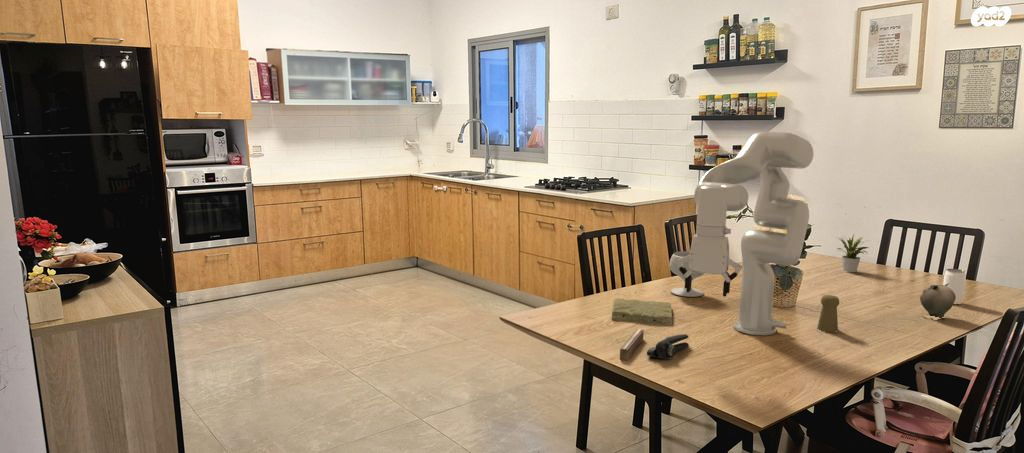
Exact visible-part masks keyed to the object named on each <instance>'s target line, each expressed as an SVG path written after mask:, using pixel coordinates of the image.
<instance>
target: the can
mask: <svg viewBox="0 0 1024 453" xmlns="http://www.w3.org/2000/svg"><path fill="white" fill-rule="evenodd" d="M966 277H967V276H966V273H965V270H963V269H958V268H957V269H956V268H946V271H945V272H944V277H943V284H942V285H946V284H948V283H949V284H948V285H947V287H949V288H950V289H951V290H952V291H953V292H954V293H955V295H956V298H955V303H960V302H962V303H963V300H964V295H965V294H964V292H965V285H966V279H967V278H966Z"/></svg>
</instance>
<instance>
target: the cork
mask: <svg viewBox="0 0 1024 453" xmlns="http://www.w3.org/2000/svg"><path fill="white" fill-rule="evenodd" d="M820 303H821V311H820V316H819V319H818V323H817V327H816V329H817V330H818V329H819V330H818V331H820V330H821V332H823V331H825V332H824V333H829V332H835V333H837V332H836V331H838V332H839V325H838V324H839V322H838V306H840V299H839V297H838V296H835V295H832V294H827V295H826V294H825V295H823V296H822V297H821V298H820Z"/></svg>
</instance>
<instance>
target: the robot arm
mask: <svg viewBox="0 0 1024 453" xmlns="http://www.w3.org/2000/svg"><path fill="white" fill-rule="evenodd" d="M813 158H814V147H813V146H812V144H811V142H810V141H809V140H807V139H805V138H804V137H801V136H799V135H797V134H794V133H792V132H785V131H784V132H782V131H781V132H780V131H779V132H778V131H776V132H775V131H759V132H756V133H754V134H753V135H751V136H750V137H749V139H748V140H747V141H746V143H745V144H744V145H743V147H742V148H741V149H740V151H739V152H738V153H737V154H736V156H735V157H734V158H732V159H729V160H727V161H725V162H722V163H720V164H718V165H716V166H714V167H713V168H711V169H709V170H708V171H707V172H705V173H704V176H702V177H701V179H700V181H699V182H698V183H697V185H696V187H695V190H694V195H693V199H694V202H695V204H696V205H697V209H696V210H697V212H696V226H695V227H696V230H695V234H693V236H692V239H691V243H690V244H691V245H690V248H689V249H690V250H689V251H690V255H688V256H686V257H683V258H680V259H678V260H677V261H676V263H677V266H678V268H679V270H680V272H681V273H682V274H683V275H684V277H685V282H684V287H685V288H687V292H690V290H691V288H692V282H693V280H692V277H691V274H692V273H693V272H699V273H705V274H708V275H709V274H711V275H719V276H720V275H721V276H722V278H723V279H724V281H723V287H722V297H724V298H725V297H727V295H728V294H730V290H731V281H733V280H734V279H735V278H736V277H737V276H739V275H738V274H740V272H741V270H742V273H741V286H740V287H741V289H740V303H739V318H738V319H739V320H737V321H734V323H733V328H734V330H736V331H737V332H740V333H744V334H747V335H750V336H751V335H753V336H771V335H774V334H775V333H776V332H777V328H779V329H783V330H787V327H788V326H787V325H788V322H786V321H785V322H784V321H783V320H777V319H775V318H774V314H773V305H774V291H775V278H776V277H775V274H774V270H773V268H772V266H771V264H774V265H775V264H776V265H780V266H787V267H788V266H790V267H791V266H794V265H797V264H798V262H799V260H800V258H801V255H802V251H803V247H804V242H805V238H806V234H807V229H808V226H809V221H810V220H809V219H810V210H809V206H808V204H807V203H806V202H805V201H802V200H800V199H792V198H788V197H789V196H788V195H789V191H790V187H791V186H790V180H789V179H788V177H787V174H785V172H784V171H783V170H782V168H784V169H786V168H787V169H798V170H799V169H801V170H802V169H806V168H808V167H809V166H810V165H811V163H812V161H813ZM759 177H760V185H759V190H758V194H757V199H756V202H755V207H754V210H753V221H754V223H755V224H756V225H757V226H759V227H761V228H762V227H763V228H767V229H774V230H775V229H776V230H782V231H783V230H784V231H786V232H785V233H784V232H776V231H771V230H761V229H752V230H751V229H750V230H749V231H746V232H745V233H744V234H743V235H742V237H741V241H740V250H741V260H742V265H741V264H739V263H738V262H736V261H734V260H732V259H731V258H730V247H729V246H730V245H729V237H728V236H726V235H728V234H729V235H730V234H731V233H732V229H731V228H728V227H727V225H726V224H727V212H739V211H741V210H743V209H744V208H745V207H746V206H747V204H748V202H749V193H748V190H747V189H746V188H745V187H744V186H743V185H740V184H745V183H748V182H751V181H755V180H757V179H758V178H759ZM686 261H689V270H688V271H687V270H686V268H685V267H684V266H683V262H686ZM729 266H730V267H732V268H733V269H734V271H733V272H732V273H729V272H728V270H729Z"/></svg>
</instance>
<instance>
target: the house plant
mask: <svg viewBox="0 0 1024 453" xmlns="http://www.w3.org/2000/svg"><path fill="white" fill-rule="evenodd" d="M854 237H855V234H853V235H852V237H851V238H850V237H848V239H846V241H845V240H844V238H845V236H844V235H842V237H841V238H840V237H837V239H839V240H840V241H841V242H842V244H843V248H844V249H845V250H846V251H845V250H844V249H843V248H841V247H837V248H836V250H837V251H838V252H844V253H845V255H842V256H841V261H842V262H841V263H842V271H843V270H844V271H847V272H846V273H849V272H856V271H858V267H859V264H860V262H861V261H860V260H861V257H860V256H858V255H859V254H861V253H862V254H863V255H865V254H867V255H868V254H869V253H868V252H867V251H866V249H870V246H869V247H868V246H861V247H860V245H862V244H863V243H865V242H868V241H870V240H865V241H862V239H863V238H864V237H862V236H859V237H858V238H857V239H856V240H855V241H854ZM844 271H843V272H844ZM856 273H857V272H856Z"/></svg>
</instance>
